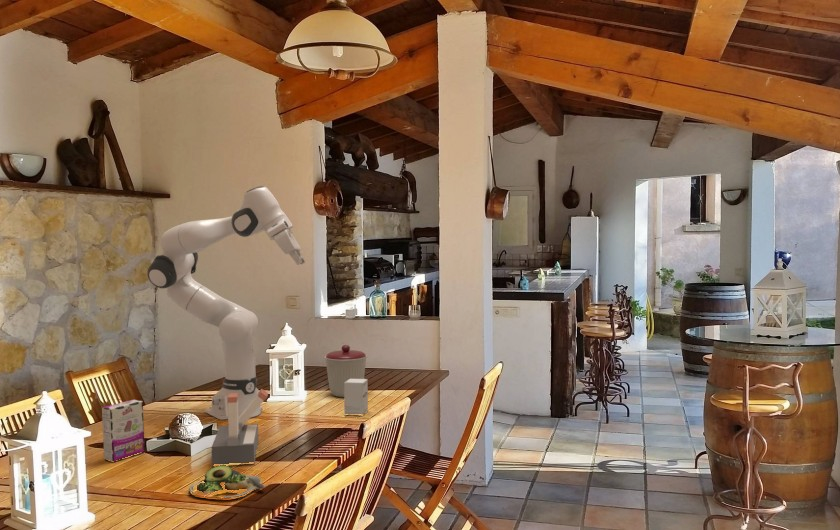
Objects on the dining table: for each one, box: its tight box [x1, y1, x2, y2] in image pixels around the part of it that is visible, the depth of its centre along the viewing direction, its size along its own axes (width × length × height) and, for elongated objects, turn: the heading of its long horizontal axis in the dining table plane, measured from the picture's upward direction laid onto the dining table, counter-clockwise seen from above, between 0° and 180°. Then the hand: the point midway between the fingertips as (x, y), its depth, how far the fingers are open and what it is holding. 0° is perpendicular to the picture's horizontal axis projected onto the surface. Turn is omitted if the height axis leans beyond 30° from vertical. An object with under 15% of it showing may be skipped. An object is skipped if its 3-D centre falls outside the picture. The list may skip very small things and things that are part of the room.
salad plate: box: [188, 465, 266, 498], centre depth 184 cm, size 19×18×5 cm
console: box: [211, 423, 259, 466], centre depth 213 cm, size 12×23×8 cm, turn 10°
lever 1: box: [227, 393, 239, 437], centre depth 205 cm, size 3×5×14 cm, turn 10°
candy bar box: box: [101, 399, 146, 461], centre depth 211 cm, size 11×5×16 cm, turn 148°
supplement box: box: [343, 378, 369, 415], centre depth 259 cm, size 7×7×13 cm
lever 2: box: [238, 388, 269, 427], centre depth 220 cm, size 3×5×14 cm
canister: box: [323, 344, 368, 398], centre depth 290 cm, size 18×18×21 cm
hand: (301, 263), depth 232 cm, fingers open, 8 cm apart
